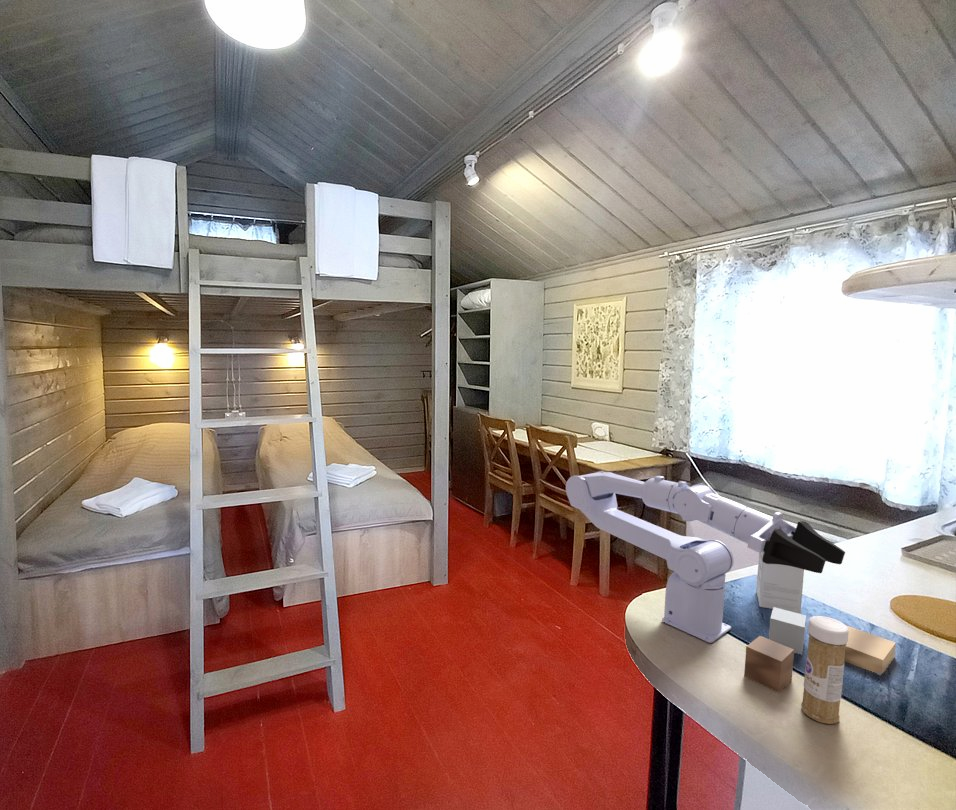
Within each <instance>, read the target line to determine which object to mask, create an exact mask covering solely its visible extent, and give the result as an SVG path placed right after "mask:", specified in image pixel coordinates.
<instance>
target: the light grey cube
mask: <svg viewBox="0 0 956 810" xmlns="http://www.w3.org/2000/svg"><path fill="white" fill-rule="evenodd" d="M806 623H807V614H806V615H805V614H802V613H801V614H799V613H795V612H791V611H787V610H784V609H780V608H776V607H773V609H772V611H771V615H770V618H769V632H768V639H769V640H772V641H774V642H777V643H779V644H782V645H784V646H787V647H789V648H791V649H794V652H795V653H794V654H796V653H798V654H797V655H799V654H801V655H800V656H803V653H802V652H803V651H804V646H803V645H804V644H805V635H806Z"/></svg>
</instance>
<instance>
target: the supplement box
mask: <svg viewBox="0 0 956 810" xmlns="http://www.w3.org/2000/svg"><path fill="white" fill-rule="evenodd" d="M763 555H764V553H763V552H760V553H759V552H758V565H757V566H758V567H757V576H756V588H755V590H756V591H755V592H756V595H757V601H758V605H759V607H760V608H766V609H771V610H773V607H776V608H780V609H784V610H787V611H791V612H795V613H799V614H802V613H801V612H802V602H803V601H802V599H803V586H804V576H805V570H804V569H800V568H796V567H792V566H787V565H780V564H766V563H764V562H763V561H762V558H763Z"/></svg>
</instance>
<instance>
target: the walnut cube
mask: <svg viewBox="0 0 956 810" xmlns="http://www.w3.org/2000/svg"><path fill="white" fill-rule="evenodd" d="M794 658H795V653H794V649H791V648H789V647H787V646H784V645H782V644H779V643H777V642H774V641H772V640H769V638H767V637H764V636H762V635H759V636H757V637H756V638H755V639H753V641H750V642H749V644H747V645H746V646H745V659H744V662H745V663H744V672H743V673H744V675H743V676H744V678H747V679H748V680H751V681H754V682H755V683H757V684H758V685H762V686H763V687H766V688H768V689H770V690H772V691H774V692H776V693H778V694H779V693H780V692H781V691H782V690H783V689H784V688H785V687H786V686H787V685H789V683H790V682H791V681H792V680H793V669H794Z"/></svg>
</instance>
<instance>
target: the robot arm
mask: <svg viewBox="0 0 956 810" xmlns="http://www.w3.org/2000/svg"><path fill="white" fill-rule="evenodd" d="M565 493H566V496H567V499H568V501H569V504H570V506H571V507H573V508H574V509H578V510H579V511H580V512H581V513H582V514H583V515H584V516H585V517H586V518H587V519H588V520H589V522H591V523H592V524H593V525H594V527H596V528H597V529H599V530H601V531H603V532H605V533H607V534H610V535H612V536H614V537H616V538H619V539H620V540H623V541H625V542H627V543H628V544H629V543H630V544H632V545H634V546H636V547H638V548H640V549H642V550H645V551H646V552H648V553H650V554H653V555H655V556H657V557H660V558H662V559H664V560H665V561H666V565H667V569H668V570H670V571H672V573H671V575H670V576H669V577H668V579H667V582H666V587H665V597H664V598H665V599H664V614H663V617H662V618H661V621H662V623H664V622H665V624H666V625H669V626H671V627H674V628H676V629H678V630H680V631H683V632H684V633H687V634H689V635H691V636H693V637H696V638H698V639H700V640H702V641H704V642H706V643H710V644H711V643H713V642H715V641H716V640H719V638H720V637H722V636H724V634H726V633H727V632H729V631H730V630H732V626H731V625H729V624H726V623H724V622H723V616H724V614H723V613H724V601H725V585H726V574H727V573H729V572H730V571H731V570H732V568H733V566H734V556H733V553H732V551H731V549H730V547H728V545H726V544H725V543H724V542H722V541H721V540H719V539H704V538H700V537H697V536H689V535H687V536H685V535H681V534H678V533H675V532H673V531H670V530H669V529H666V528H663V527H661V526H659V525H657V524H656V525H655V524H653V523H651V522H649V521H647V520H644V519H641V518H639V517H637V516H634V515H632V514H629V513H627V512H625V511H622V510H620V509H618V501H617V495H622V496H627V497H633V498H638V499H642V502H643V504H645V506H647V507H649V508H653V509H658V510H661V511H666V512H669V513H673V514H677V515H680V517H681V520H682V521H684V522H695V521H698V522H700V523H702V524H705V525H707V526H709V527H711V528H713V529H715V530H717V531H720V532H722V533H724V534H726V535H728V536H730V537H732V538H735V539H737V540H738V541H741V542H743V543H745V544H747V548H748V549H751V550H752V551H755V552H757V553H758V554H759V553H760V552H763V553H764V555H763V558H762V561H763V562H764V563H766V564H780V565H787V566H792V567H796V568H800V569H804V571H808V572H812V573H817V574H821V573H823V570H824V567H825V564H826V562H828V563H832V564H835V565H841V564H843V560H844V557H845V555H846V551H844V550H843V549H841V548H840V547H839V546H837V545H835V544H834V543H832V542H831V541H830V540H828V539H826V538H825V537H823V536H822V535H821V534H820V533H819V532H817V531H816V530H815V529H814V528H813V527H812V526H811V524H809V523H808V522H807V521H805V520H800V521H798V522H797V525H794V524H792V523H788V522H787V521H785V520H783V518H784V517H783V516H784V513H782V512H780V511H777V512H774V513H773V515H768V514H767V513H764V512H761V511H759V510H757V509H754V508H752V507H749V506H746V505H744V504H742V503H740V502H737V501H734V500H733V499H730V498H729V499H728V498H726V497H724V496H721V495H718V494H717V493H716V492H715V490H714V489H713V488H712V487H710V486H708V485H705V484H704V483H695V484H693V485H692V486H689V485H688V484H687V481H683V480H681V481H678V482H676V481H671V480H665V477H664V476H662V475H657V476H656V475H655V476H654V477H650V478H649V479H647V480H646V481H642V480H639V479H635V478H630V477H628V476H623V475H620V474H617V473H613V472H611V471H609V472H608V471H607V472H606V471H602V470H600V471H596V472H593V473H588V474H582V475H572V476H570V477H568V479H567V481H566V484H565ZM616 494H617V495H616Z"/></svg>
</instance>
